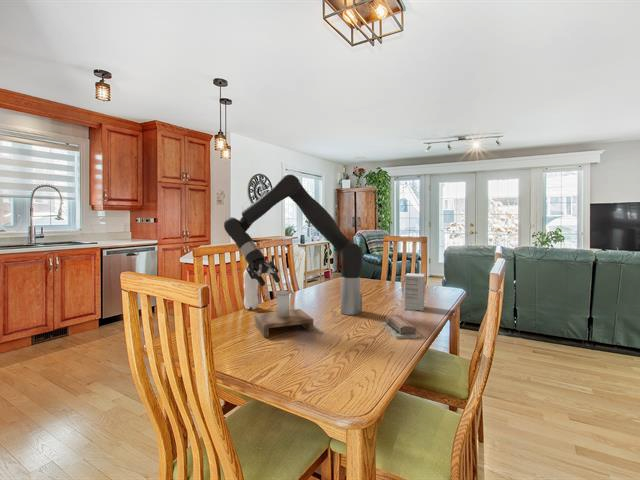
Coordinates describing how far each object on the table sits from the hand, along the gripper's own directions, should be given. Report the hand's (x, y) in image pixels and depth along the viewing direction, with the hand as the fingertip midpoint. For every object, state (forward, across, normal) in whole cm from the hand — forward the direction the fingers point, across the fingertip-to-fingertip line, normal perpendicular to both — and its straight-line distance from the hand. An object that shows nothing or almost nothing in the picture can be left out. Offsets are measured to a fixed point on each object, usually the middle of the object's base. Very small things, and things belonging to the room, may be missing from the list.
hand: (271, 283), depth 147 cm
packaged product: (+46, +26, -20) cm, 56 cm away
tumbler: (+14, 0, +4) cm, 14 cm away
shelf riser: (+17, 0, +8) cm, 19 cm away
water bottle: (-7, +13, +32) cm, 35 cm away
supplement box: (+39, +62, -14) cm, 74 cm away
